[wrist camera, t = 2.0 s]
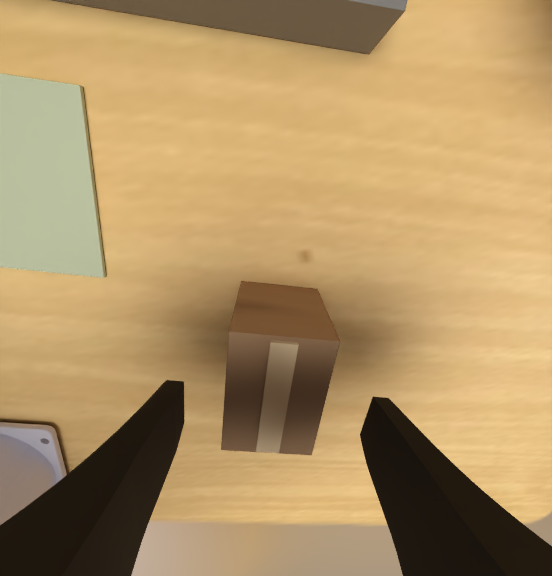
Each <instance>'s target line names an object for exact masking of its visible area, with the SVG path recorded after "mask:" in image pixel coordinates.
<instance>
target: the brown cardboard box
mask: <svg viewBox="0 0 552 576" xmlns="http://www.w3.org/2000/svg"><path fill="white" fill-rule="evenodd" d="M339 344H340V340H339V338H338V336H337V333H336V331H335V329H334V326H333V324H332V322H331V320H330V317H329V315H328V313H327V310H326V308H325V306H324V303H323V301H322V299H321V297H320V294H319V292H318V290H317V289H313V288H303V287H293V286H284V285H274V284H265V283H255V282H245V281H241V285H240V289H239V293H238V297H237V301H236V305H235V309H234V313H233V317H232V321H231V325H230V329H229V338H228V353H227V368H226V383H225V399H224V414H223V429H222V444H221V450H232V451H249V452H265V453H283V454H300V455H312V452H313V448H314V444H315V440H316V436H317V432H318V428H319V424H320V420H321V416H322V412H323V408H324V404H325V400H326V396H327V392H328V388H329V384H330V380H331V376H332V372H333V368H334V364H335V360H336V356H337V352H338V348H339Z"/></svg>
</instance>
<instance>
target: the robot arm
mask: <svg viewBox="0 0 552 576" xmlns="http://www.w3.org/2000/svg"><path fill="white" fill-rule="evenodd" d="M183 425H184V382H182V381H169V380H167V381H165V382H164V383H163V384H162V385H161V386H160V388H159V389H158V390H157V391H156V392H155V393H154V394H153V395H152V396H151V397H150V398H149V399H148V400H147V402H146V403H145V404H144V405H143V406H142V407H141V408H140V409H139V410H138V411H137V412H136V413H135V414H134V415H133V416H132V417H131V418H130V419H129V420H128V421H127V422H126V423H125V424H124V425H123V426H122V427H121V428H120V429H119V430H118V431H116V432H115V433H114V434H113V435H112V436H111V437H110V438H109V439H108V440H107V441H106V442H104V443H103V444H102V445H101V446H100V447H99V448H98V449H97V450H96V451H95V452H93V453H92V454H91V455H90V456H89V457H88V458H87V459H85V460H84V461H83V462H82V463H81V464H80V465H78V466H77V467H76V468H75V469H74V470H72V471H71V472H70V473H69V474H67V473H66V469H65V465H64V462H63V458H62V454H61V450H60V446H59V442H58V438H57V434H56V431H55V429H54V428H53V427H52V426H49V425H38V424H22V423H7V422H0V576H131V574H132V571H133V568H134V564H135V561H136V558H137V554H138V551H139V548H140V545H141V542H142V539H143V536H144V533H145V531H146V528H147V525H148V522H149V520H150V517H151V515H152V512H153V510H154V507H155V504H156V502H157V499H158V497H159V494H160V492H161V489H162V487H163V484H164V482H165V479H166V476H167V474H168V471H169V469H170V466H171V463H172V461H173V458H174V456H175V453H176V450H177V447H178V443H179V440H180V436H181V432H182V429H183ZM360 437H361V441H362V446H363V451H364V455H365V459H366V463H367V466H368V469H369V472H370V475H371V478H372V481H373V484H374V487H375V490H376V493H377V495H378V498H379V501H380V504H381V507H382V510H383V513H384V515H385V518H386V521H387V524H388V527H389V530H390V533H391V535H392V539H393V542H394V545H395V548H396V551H397V555H398V559H399V562H400V566H401V570H402V574H403V576H552V546H551V545H549V544H548V543H547V542H545V541H544V540H543V539H541V538H540V537H539V536H537V535H536V534H535V533H534V532H532V531H531V530H530V529H529V528H527V527H526V526H525V525H523V524H522V523H521V522H520V521H518V520H517V519H516V518H515V517H513V516H512V515H511V514H510V513H508V512H507V511H506V510H505V509H504V508H502V507H501V506H500V505H499V504H498V503H497V502H495V501H494V500H493V499H492V498H491V497H489V496H488V495H487V494H486V493H485V492H484V491H482V490H481V489H480V488H479V487H478V486H477V485H476V484H475V483H473V482H472V481H471V480H470V479H469V478H468V477H467V476H466V475H465V474H464V473H463V472H461V471H460V470H459V469H458V468H457V467H456V466H455V465H454V464H453V463H452V462H451V461H450V460H449V459H448V458H447V457H446V456H445V455H444V454H443V453H442V452H440V451H439V450H438V449H437V448H436V447H435V446H434V445H433V444H432V443H431V442H430V440H429V439H428V438H427V437H426V436H425V435H424V434H423V433H422V432H421V431H420V430H419V429H418V428H417V427H416V426H415V425H414V424H413V423H412V422H411V421H410V420H409V419H408V418H407V417H406V416H405V415H404V414H403V413H402V412H401V410H400V409H399V408H398V407H397V406H396V405H395V404H394V403H393V402H392V401H391V400H390V399H389V398H381V397H373V398H372V401H371V404H370V407H369V410H368V413H367V416H366V419H365V422H364V424H363V427H362V430H361V433H360Z"/></svg>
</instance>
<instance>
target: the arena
mask: <svg viewBox="0 0 552 576" xmlns="http://www.w3.org/2000/svg"><path fill="white" fill-rule="evenodd" d="M54 1H60V2H66V3H72V4H78V5H84V6H90V7H95V8H101V9H107V10H113V11H119V12H125V13H131V14H136V15H142V16H148V17H154V18H160V19H166V20H172V21H178V22H183V23H189V24H195V25H201V26H207V27H213V28H219V29H224V30H230V31H236V32H242V33H248V34H254V35H260V36H265V37H271V38H277V39H283V40H289V41H295V42H301V43H306V44H312V45H318V46H324V47H330V48H336V49H342V50H348V51H353V52H359V53H365V54H369V53H370V52H371V51H372V50H373V49H374V47H375V46H376V45H377V44H378V43H379V41H380V40H381V39H382V38H383V37H384V35H385V34H386V33H387V32H388V31H389V29H390V28H391V27H392V26H393V25H394V23H395V22H396V21H397V20H398V19H399V17H400V16H401V15H402V14H403V13H404V11H405V8H406V4H407V0H54ZM0 267H2V268H12V269H22V270H32V271H41V272H51V273H61V274H71V275H81V276H90V277H100V278H105V277H106V271H105V263H104V255H103V247H102V238H101V230H100V222H99V214H98V206H97V198H96V190H95V181H94V173H93V165H92V157H91V149H90V141H89V133H88V124H87V116H86V108H85V100H84V92H83V87H82V86H80V85H73V84H67V83H60V82H53V81H47V80H40V79H33V78H27V77H20V76H13V75H7V74H0Z"/></svg>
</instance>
